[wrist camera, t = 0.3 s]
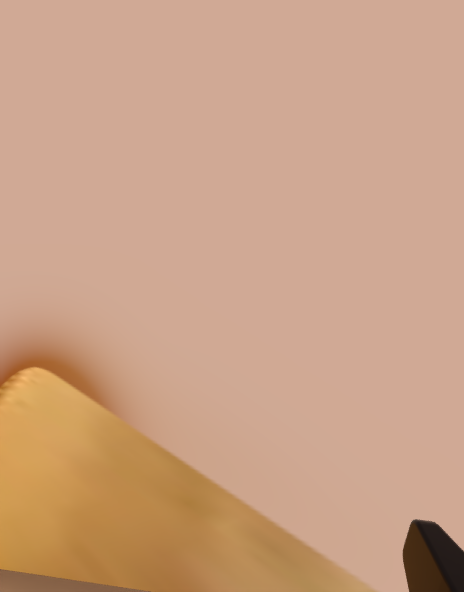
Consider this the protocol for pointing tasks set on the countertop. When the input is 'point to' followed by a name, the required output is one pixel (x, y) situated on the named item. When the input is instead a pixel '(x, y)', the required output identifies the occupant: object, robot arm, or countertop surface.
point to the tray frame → (50, 584)
